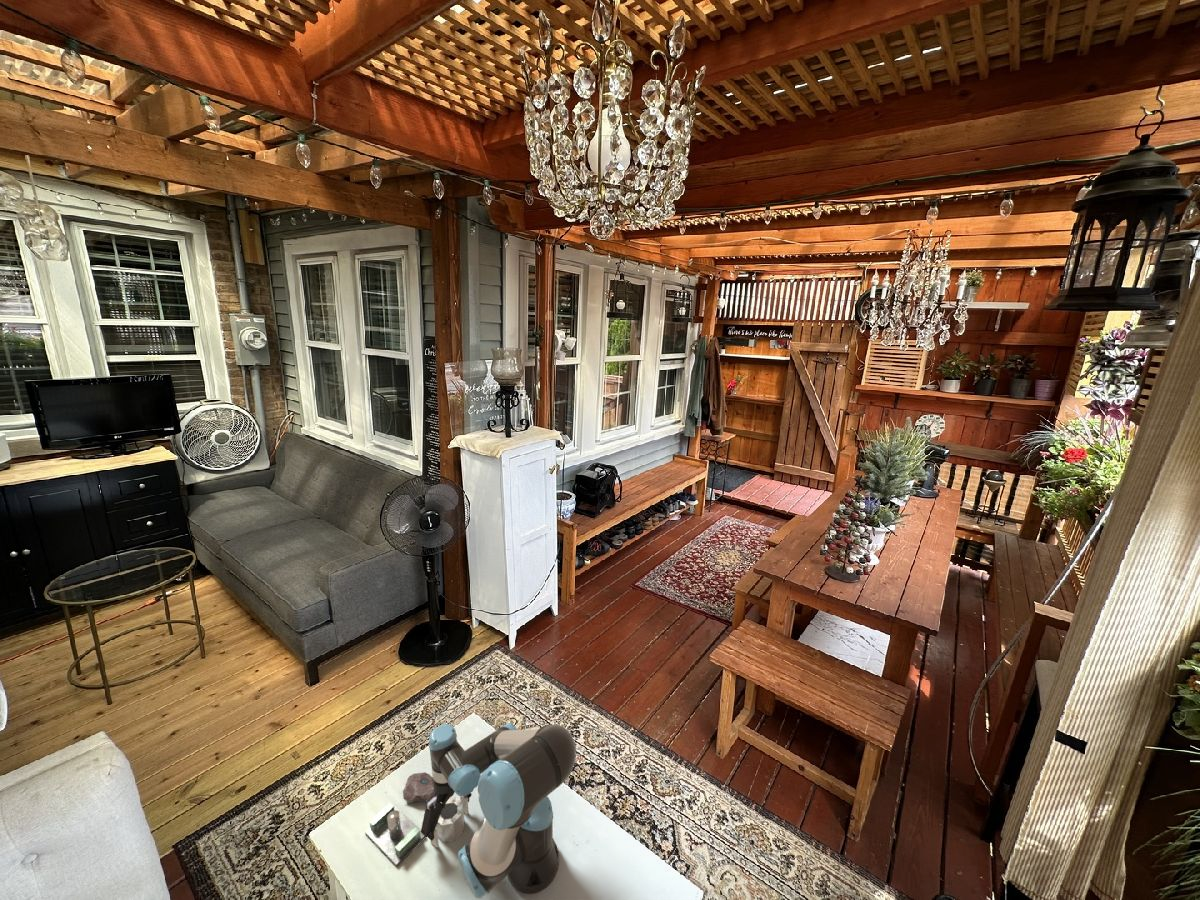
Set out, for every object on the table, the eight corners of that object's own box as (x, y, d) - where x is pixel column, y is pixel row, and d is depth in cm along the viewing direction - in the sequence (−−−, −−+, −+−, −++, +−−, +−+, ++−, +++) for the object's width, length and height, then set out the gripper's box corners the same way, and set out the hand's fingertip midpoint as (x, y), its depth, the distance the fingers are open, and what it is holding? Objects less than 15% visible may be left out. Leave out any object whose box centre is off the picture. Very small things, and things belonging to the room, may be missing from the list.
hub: (469, 824, 148) (467, 807, 146) (448, 847, 142) (447, 829, 140) (452, 809, 152) (450, 793, 150) (431, 831, 146) (429, 814, 144)
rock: (436, 804, 154) (435, 794, 153) (401, 805, 153) (400, 794, 152) (443, 781, 162) (442, 771, 160) (410, 782, 161) (409, 771, 160)
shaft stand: (426, 836, 144) (423, 817, 142) (396, 867, 136) (394, 847, 134) (394, 807, 153) (392, 788, 150) (365, 834, 145) (362, 814, 142)
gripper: (467, 739, 152) (470, 790, 158) (403, 797, 133) (409, 853, 139) (483, 750, 148) (486, 803, 154) (419, 812, 129) (426, 869, 135)
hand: (450, 827), depth 147 cm, fingers open, 11 cm apart
